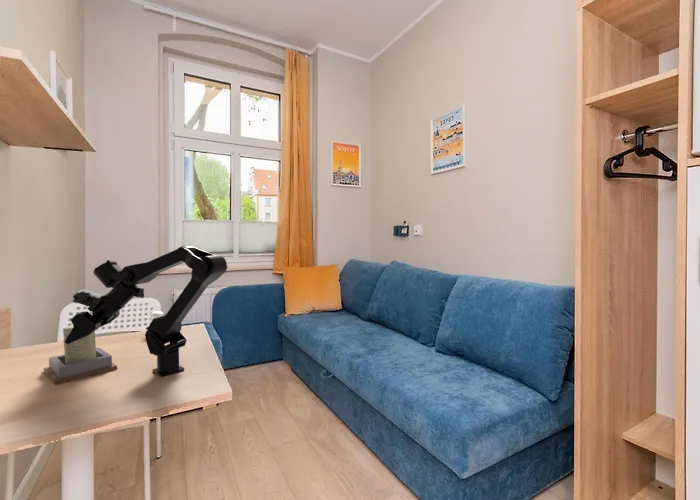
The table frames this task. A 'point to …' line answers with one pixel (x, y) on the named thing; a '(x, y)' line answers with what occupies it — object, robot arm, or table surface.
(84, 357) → the skincare box
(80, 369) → the square frame
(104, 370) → the walnut board
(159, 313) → the milkshake
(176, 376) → the table surface
